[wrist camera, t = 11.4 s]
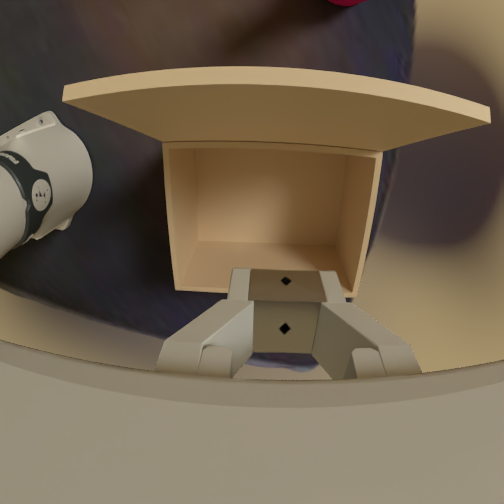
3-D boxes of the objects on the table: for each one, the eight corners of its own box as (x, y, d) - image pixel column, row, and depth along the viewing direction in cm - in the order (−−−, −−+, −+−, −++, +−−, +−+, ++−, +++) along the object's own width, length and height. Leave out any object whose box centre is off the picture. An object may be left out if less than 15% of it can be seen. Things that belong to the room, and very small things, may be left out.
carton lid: (62, 101, 12) (64, 85, 12) (162, 141, 27) (162, 133, 27) (490, 123, 11) (489, 107, 11) (382, 151, 27) (382, 142, 27)
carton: (196, 242, 46) (175, 291, 35) (191, 126, 38) (162, 142, 27) (337, 248, 45) (356, 298, 35) (351, 133, 37) (382, 152, 27)
